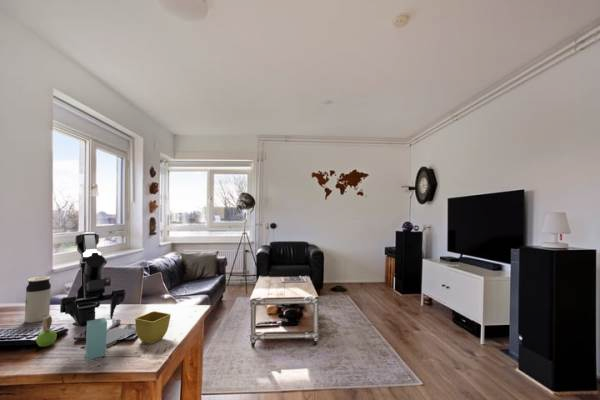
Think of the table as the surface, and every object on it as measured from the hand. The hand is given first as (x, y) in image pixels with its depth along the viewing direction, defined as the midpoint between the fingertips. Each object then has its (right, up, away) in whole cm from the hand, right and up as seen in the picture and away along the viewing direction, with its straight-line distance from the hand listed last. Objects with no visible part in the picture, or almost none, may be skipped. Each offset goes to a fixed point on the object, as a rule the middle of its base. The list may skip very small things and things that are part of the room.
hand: (95, 321), depth 98 cm
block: (+2, -10, -3) cm, 11 cm away
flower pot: (+15, -11, +8) cm, 20 cm away
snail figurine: (-20, -10, +3) cm, 22 cm away
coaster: (-1, -10, +10) cm, 14 cm away
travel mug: (-45, -11, +27) cm, 53 cm away
